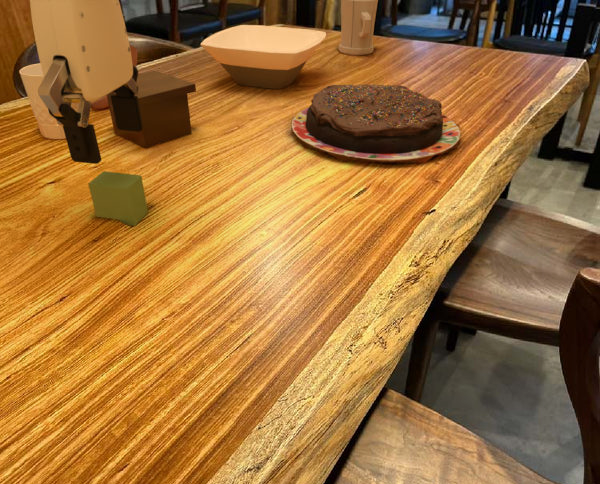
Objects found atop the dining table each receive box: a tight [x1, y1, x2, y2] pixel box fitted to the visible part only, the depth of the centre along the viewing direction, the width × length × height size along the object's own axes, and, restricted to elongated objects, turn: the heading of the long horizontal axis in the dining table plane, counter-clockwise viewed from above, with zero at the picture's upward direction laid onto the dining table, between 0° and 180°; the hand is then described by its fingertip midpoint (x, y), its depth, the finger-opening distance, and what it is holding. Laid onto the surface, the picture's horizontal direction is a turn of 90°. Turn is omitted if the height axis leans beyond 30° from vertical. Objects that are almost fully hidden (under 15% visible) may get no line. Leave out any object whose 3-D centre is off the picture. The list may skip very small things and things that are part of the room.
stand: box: [107, 70, 197, 149], centre depth 86 cm, size 11×11×8 cm
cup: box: [338, 0, 379, 56], centre depth 131 cm, size 10×9×12 cm
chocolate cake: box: [290, 84, 462, 164], centre depth 88 cm, size 28×28×7 cm
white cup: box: [18, 62, 80, 140], centre depth 85 cm, size 8×8×10 cm
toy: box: [88, 170, 149, 227], centre depth 65 cm, size 5×4×5 cm
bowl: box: [199, 24, 327, 90], centre depth 111 cm, size 22×23×8 cm
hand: (110, 144), depth 60 cm, fingers open, 9 cm apart
